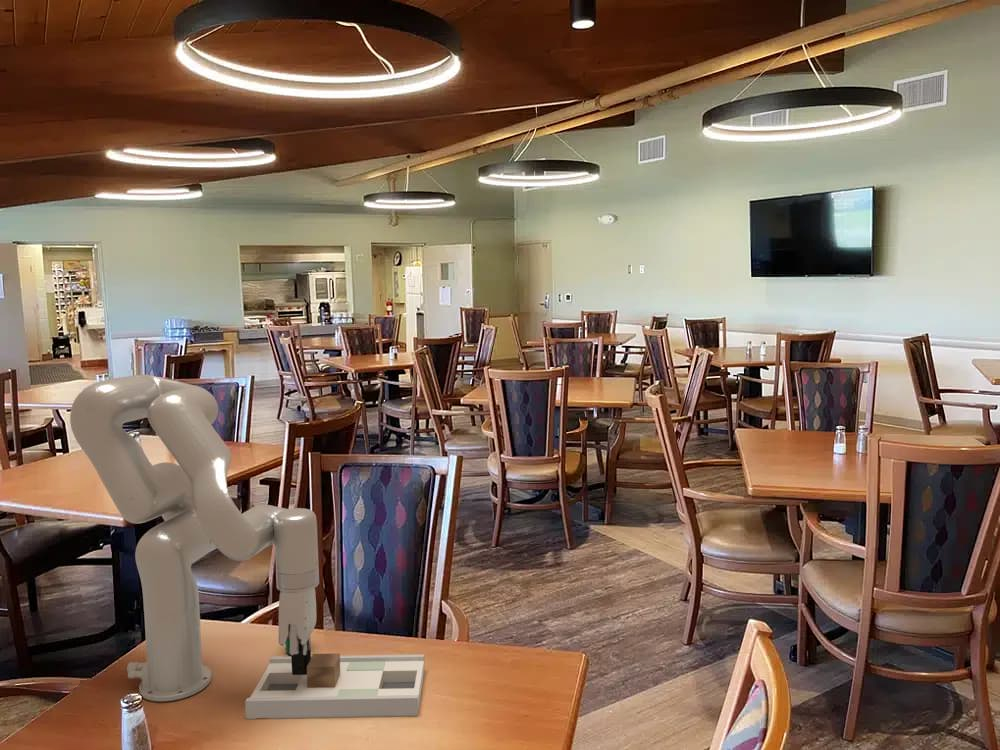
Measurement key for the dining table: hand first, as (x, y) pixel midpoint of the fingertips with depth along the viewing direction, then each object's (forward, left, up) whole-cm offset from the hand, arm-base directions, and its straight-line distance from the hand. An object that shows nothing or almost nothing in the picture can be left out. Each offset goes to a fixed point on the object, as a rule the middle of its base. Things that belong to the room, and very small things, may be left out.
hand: (301, 672), depth 137 cm
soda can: (-5, +17, -4) cm, 18 cm away
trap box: (+7, 0, -4) cm, 8 cm away
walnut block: (+4, 0, -2) cm, 4 cm away
